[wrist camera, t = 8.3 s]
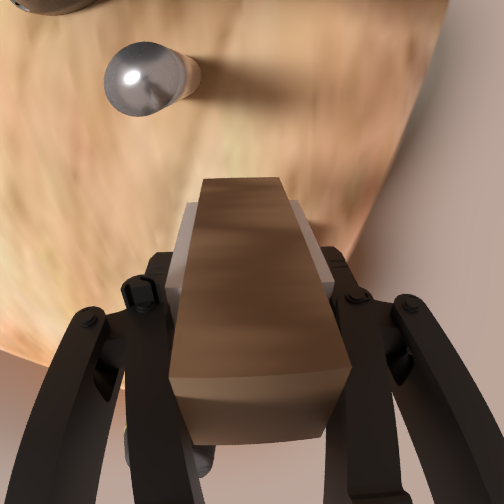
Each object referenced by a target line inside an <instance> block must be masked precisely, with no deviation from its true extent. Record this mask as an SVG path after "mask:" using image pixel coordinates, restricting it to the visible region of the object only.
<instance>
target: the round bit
mask: <svg viewBox="0 0 504 504" xmlns="http://www.w3.org/2000/svg"><path fill="white" fill-rule="evenodd" d="M200 82H201V69H200V67H199V65H198V64H197V62H196V61H195V60H193V59H192V58H190V57H188V56H186V55H183V54H181V53H179V52H176V51H174V50H172V49H169V48H167V47H164V46H162V45H159V44H157V43H153V42H138V43H134V44H131V45H129V46H127V47H125V48H123V49H122V50H120V51H119V52H118V53H117V54H116V55H115V56H114V57H113V58H112V60H111V61H110V63H109V65H108V67H107V69H106V72H105V76H104V89H105V93H106V96H107V98H108V100H109V102H110V103H111V104H112V106H113V107H114V108H115V109H117V110H118V111H120V112H121V113H123V114H126V115H129V116H136V117H140V116H147V115H151V114H153V113H155V112H158V111H159V110H161V109H163V108H165V107H167V106H169V105H171V104H173V103H175V102H177V101H179V100H181V99H183V98H185V97H187V96H189V95H191V94H192V93H193V92H194V91H195V90H196V89H197V88H198V86H199V84H200Z"/></svg>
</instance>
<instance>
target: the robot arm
mask: <svg viewBox="0 0 504 504" xmlns="http://www.w3.org/2000/svg"><path fill="white" fill-rule="evenodd" d="M95 1H97V0H11V2H12V3H13V4H14V5H15V6H17V7H18V8H20V9H22V10H24V11H26V12H30V13H35V14H40V15H48V16H53V15H62V14H66V13H70V12H73V11H76V10H79V9H81V8H84V7H86V6H88V5H90V4H92V3H94V2H95ZM289 202H290V204H291V207H292V209H293V212H294V214H295V216H296V219H297V221H298V224H299V226H300V229H301V231H302V234H303V236H304V239H305V241H306V244H307V246H308V249H309V251H310V254H311V256H312V259H313V261H314V264H315V266H316V269H317V272H318V274H319V277H320V279H321V282H322V285H323V287H324V290H325V293H326V295H327V298H328V301H329V303H330V306H331V309H332V312H333V314H334V317H335V320H336V323H337V325H338V328H339V331H340V334H341V337H342V339H343V342H344V345H345V348H346V351H347V354H348V357H349V360H350V363H351V366H352V369H351V371H350V373H349V376H348V378H347V381H346V383H345V385H344V388H343V390H342V392H341V395H340V397H339V399H338V401H337V404H336V406H335V408H334V410H333V412H332V415H331V417H330V419H329V421H328V423H327V425H326V458H325V480H324V498H323V504H413V503H412V499H411V497H410V495H409V494H408V493H407V492H406V491H404V490H403V487H402V483H401V470H400V458H399V446H398V437H397V428H396V420H395V412H394V405H393V398H392V393H393V396H394V398H395V400H396V402H397V405H398V407H399V410H400V412H401V415H402V417H403V420H404V422H405V425H406V427H407V429H408V432H409V435H410V437H411V440H412V442H413V445H414V447H415V450H416V453H417V455H418V458H419V460H420V463H421V466H422V468H423V472H424V474H425V477H426V480H427V483H428V486H429V488H430V491H431V494H432V497H433V500H434V503H435V504H504V437H503V435H502V433H501V431H500V429H499V427H498V425H497V423H496V421H495V419H494V417H493V415H492V413H491V411H490V409H489V407H488V406H487V403H486V402H485V400H484V398H483V396H482V394H481V392H480V391H479V389H478V387H477V385H476V383H475V382H474V380H473V378H472V377H471V375H470V373H469V371H468V370H467V368H466V366H465V365H464V363H463V361H462V360H461V358H460V356H459V355H458V353H457V351H456V350H455V348H454V347H453V345H452V344H451V342H450V340H449V339H448V337H447V336H446V334H445V333H444V331H443V329H442V328H441V326H440V325H439V323H438V322H437V320H436V319H435V317H434V316H433V314H432V313H431V311H430V310H429V308H428V307H427V306H426V304H425V303H424V302H423V301H422V300H421V299H419V298H418V297H416V296H414V295H411V294H402V295H398V296H397V297H396V298H395V300H394V303H388V302H381V301H377V300H374V299H373V297H372V295H371V294H370V293H369V292H368V291H367V290H366V289H364V288H361V287H359V286H358V284H357V282H356V280H355V278H354V276H353V274H352V272H351V270H350V268H348V264H347V262H345V258H344V257H343V255H342V253H341V252H340V251H339V250H337V249H336V248H335V247H334V246H331V247H319V245H318V243H317V240H316V238H315V236H314V234H313V232H312V229H311V227H310V225H309V223H308V221H307V219H306V217H305V214H304V212H303V210H302V208H301V206H300V204H299V202H298V200H289ZM197 206H198V202H193V203H187V204H186V207H185V211H184V215H183V218H182V222H181V225H180V229H179V233H178V236H177V240H176V244H175V248H174V252H157V253H156V254H155V255H154V256H153V257H152V258H151V259H150V260H149V263H148V266H147V269H146V272H145V275H137V276H133V277H131V278H129V279H128V280H126V281H125V282H124V283H123V284H122V287H121V292H122V295H123V299H124V302H125V305H126V308H127V309H125V310H123V311H120V312H116V313H112V314H108V315H105V312H104V310H102V309H101V308H99V307H95V306H92V307H86V308H84V309H81V310H80V311H78V312H77V313H76V314H75V315H74V317H73V318H72V320H71V322H70V324H69V326H68V328H67V330H66V332H65V334H64V336H63V338H62V340H61V342H60V345H59V347H58V349H57V351H56V353H55V355H54V358H53V360H52V362H51V364H50V367H49V369H48V372H47V374H46V376H45V378H44V381H43V383H42V386H41V388H40V391H39V393H38V396H37V398H36V401H35V403H34V406H33V409H32V411H31V414H30V417H29V420H28V422H27V425H26V428H25V431H24V434H23V437H22V440H21V443H20V447H19V450H18V453H17V456H16V460H15V463H14V467H13V470H12V474H11V478H10V481H9V485H8V490H7V494H6V498H5V503H4V504H95V501H96V495H97V490H98V484H99V478H100V473H101V467H102V463H103V458H104V452H105V448H106V444H107V439H108V435H109V430H110V426H111V422H112V418H113V413H114V409H115V405H116V401H117V398H118V393H119V390H120V386H121V382H122V379H123V375H124V371H125V401H126V423H127V439H128V451H129V462H130V471H131V480H132V488H133V495H134V502H135V504H205V502H204V498H203V494H202V490H201V486H200V482H199V477H198V473H197V468H196V464H195V459H194V455H193V450H192V445H191V440H190V435H189V431H188V429H187V426H186V424H185V421H184V418H183V416H182V413H181V411H180V408H179V405H178V403H177V400H176V397H175V394H174V392H173V389H172V386H171V383H170V380H169V370H170V362H171V355H172V348H173V341H174V334H175V327H176V321H177V314H178V308H179V302H180V296H181V290H182V284H183V278H184V273H185V267H186V262H187V256H188V251H189V246H190V241H191V236H192V230H193V225H194V221H195V216H196V211H197Z"/></svg>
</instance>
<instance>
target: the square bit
mask: <svg viewBox="0 0 504 504" xmlns="http://www.w3.org/2000/svg"><path fill="white" fill-rule="evenodd" d="M351 369H352V366H351V363H350V360H349V357H348V354H347V351H346V348H345V345H344V342H343V339H342V337H341V334H340V331H339V328H338V325H337V323H336V320H335V317H334V314H333V312H332V309H331V306H330V303H329V301H328V298H327V295H326V293H325V290H324V287H323V285H322V282H321V279H320V277H319V274H318V272H317V269H316V266H315V264H314V261H313V259H312V256H311V254H310V251H309V249H308V246H307V244H306V241H305V239H304V236H303V234H302V231H301V229H300V226H299V224H298V221H297V219H296V216H295V214H294V212H293V209H292V207H291V204H290V202H289V200H288V197H287V195H286V193H285V190H284V188H283V186H282V183H281V181H280V179H279V177H262V178H216V179H203V183H202V188H201V192H200V197H199V201H198V206H197V211H196V216H195V221H194V225H193V230H192V236H191V241H190V246H189V251H188V256H187V262H186V267H185V273H184V278H183V284H182V290H181V296H180V302H179V308H178V314H177V321H176V327H175V334H174V341H173V348H172V355H171V362H170V370H169V380H170V383H171V386H172V389H173V392H174V394H175V397H176V400H177V403H178V405H179V408H180V411H181V413H182V416H183V418H184V421H185V424H186V426H187V429H188V431H189V434H190V436H191V438H192V441H193V443H194V445H243V444H262V443H275V442H286V441H296V440H304V439H312V438H319V437H321V435H322V433H323V431H324V429H325V427H326V425H327V423H328V421H329V419H330V417H331V415H332V412H333V410H334V408H335V406H336V404H337V401H338V399H339V397H340V395H341V392H342V390H343V388H344V385H345V383H346V381H347V378H348V376H349V373H350V371H351Z"/></svg>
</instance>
